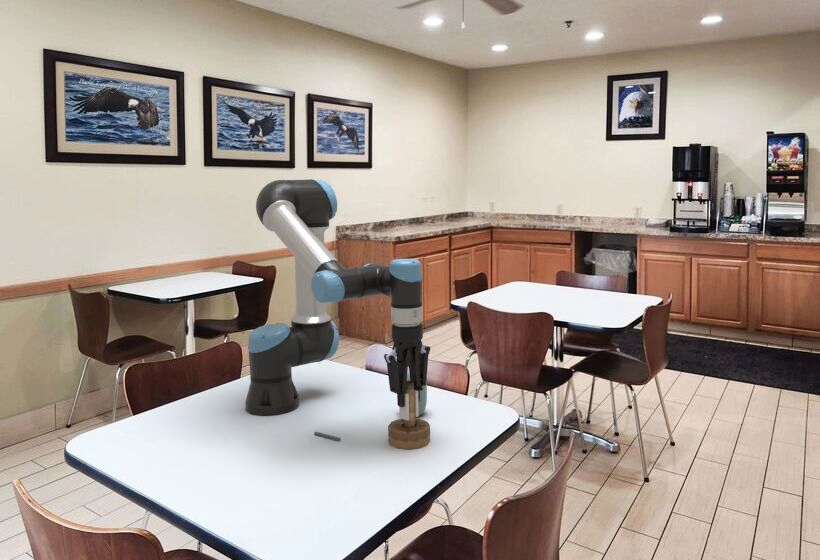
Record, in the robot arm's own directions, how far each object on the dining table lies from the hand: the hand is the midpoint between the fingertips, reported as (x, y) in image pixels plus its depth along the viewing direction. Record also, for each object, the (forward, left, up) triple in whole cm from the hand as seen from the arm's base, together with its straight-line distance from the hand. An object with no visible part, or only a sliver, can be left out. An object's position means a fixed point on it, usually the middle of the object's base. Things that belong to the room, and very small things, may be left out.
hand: (409, 416), depth 154 cm
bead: (0, 0, -6) cm, 6 cm away
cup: (-13, +13, -7) cm, 20 cm away
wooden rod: (0, 0, -6) cm, 6 cm away
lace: (-16, -13, -6) cm, 22 cm away
